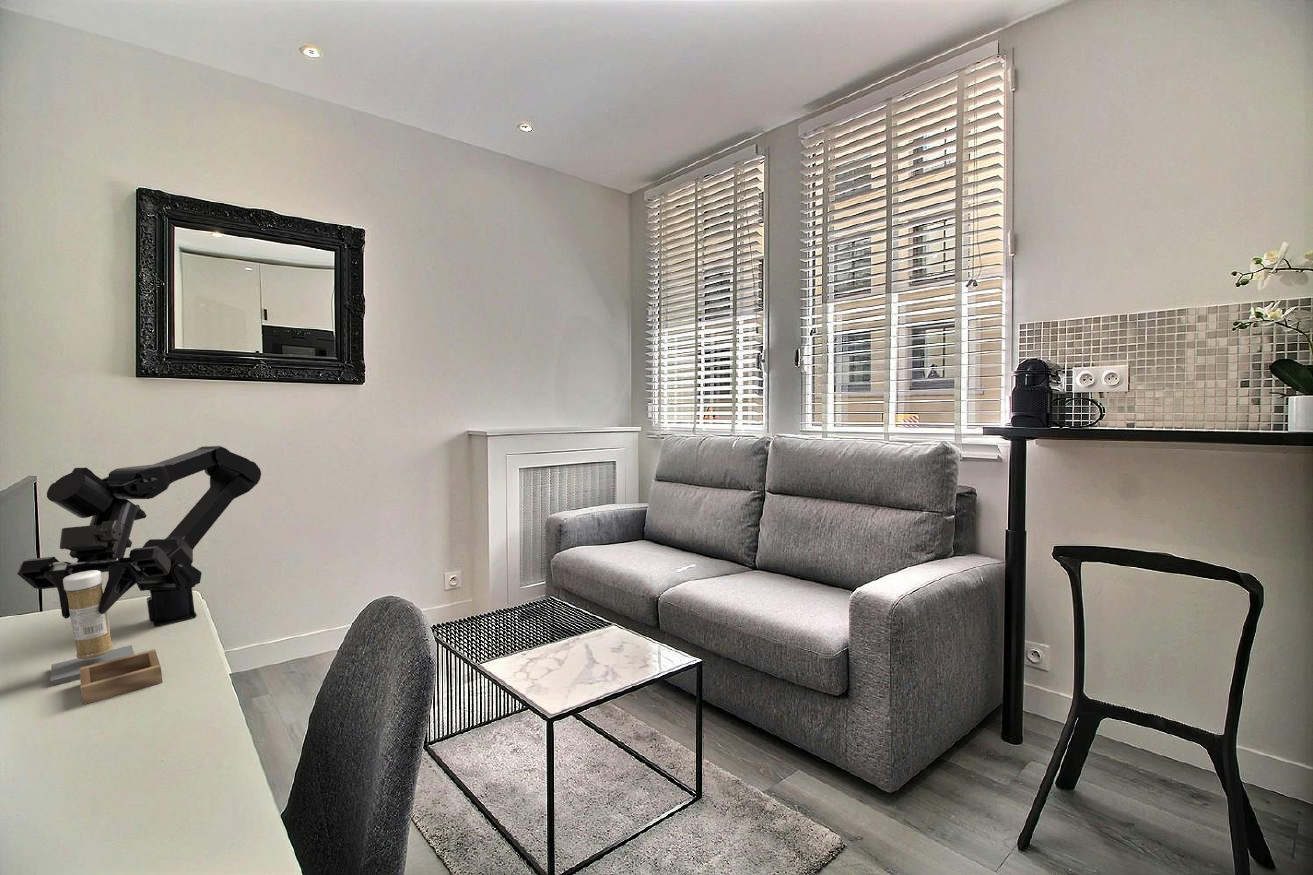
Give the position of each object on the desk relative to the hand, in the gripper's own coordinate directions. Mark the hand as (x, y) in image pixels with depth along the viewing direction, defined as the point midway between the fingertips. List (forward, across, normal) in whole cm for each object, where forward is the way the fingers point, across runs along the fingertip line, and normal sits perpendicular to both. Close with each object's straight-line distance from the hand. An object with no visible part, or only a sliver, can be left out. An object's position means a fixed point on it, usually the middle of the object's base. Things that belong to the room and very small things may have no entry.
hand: (83, 615), depth 100 cm
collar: (+12, +7, +1) cm, 14 cm away
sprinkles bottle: (+4, 0, +6) cm, 7 cm away
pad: (+6, 0, +7) cm, 9 cm away
